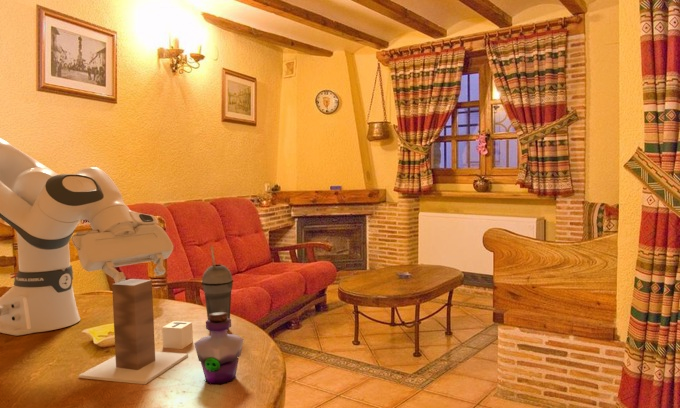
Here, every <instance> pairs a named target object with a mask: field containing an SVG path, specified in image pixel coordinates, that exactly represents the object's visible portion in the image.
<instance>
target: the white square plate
mask: <svg viewBox="0 0 680 408" xmlns="http://www.w3.org/2000/svg"><path fill="white" fill-rule="evenodd" d="M188 357H189V354H188V353H182V352H170V351H157V350H155V361H154V362H152V363H150V364H148V365H146V366H145V367H143V368H141V369H139V370H132V369H125V368H117V367H116V356H115V355H114V356H112V357H110V358H109V359H107V360H105V361H103V362H101V363H99V364H97V365H95V366H93V367H91V368H89V369H88V370H86V371H83V372H82V373H80V374H78V378H79V379H89V380H98V381H109V382H115V383H116V382H117V383H127V384H128V383H130V384H139V385H146V384H148V383H150V382H152V381H153V380H154V379H156V378H157V377H159V376H160V375H162V374H164V373H165V372H166V371H168V370H169V369H171V368H172V367H174V366H175V365H177V364H178V363H180V362H182V361H183V360H185V359H186V358H188Z"/></svg>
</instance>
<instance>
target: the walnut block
mask: <svg viewBox="0 0 680 408" xmlns="http://www.w3.org/2000/svg"><path fill="white" fill-rule="evenodd" d="M111 291H112V309H113V313H112V314H113V329H114V332H113V333H114V348H115V349H114V351H115V355H114V356H116V367H117V368H125V369H132V370H139V369H141V368H143V367H145V366H146V365H148V364H150V363H152V362H154V361H155V351H156V348H155V347H156V344H155V322H154V300H153V280H152V279H143V278H129V279H126V280H125V281H121V282H118V283H112V284H111Z"/></svg>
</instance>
